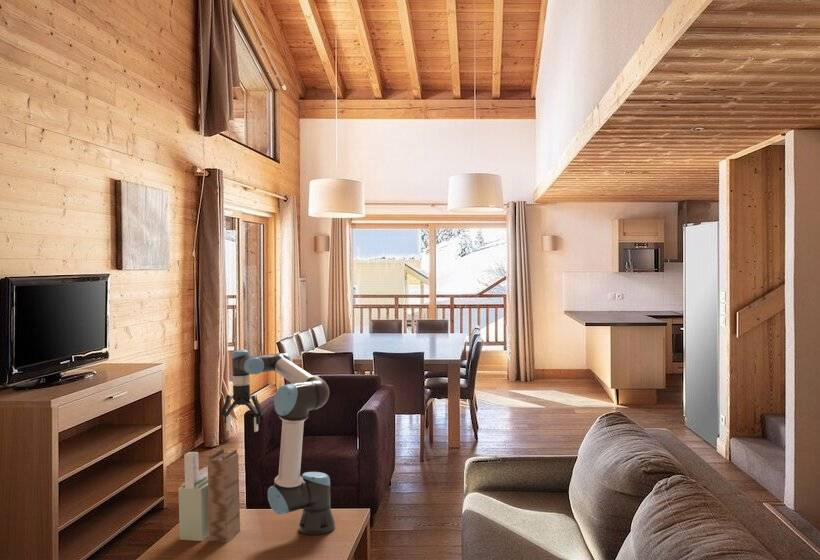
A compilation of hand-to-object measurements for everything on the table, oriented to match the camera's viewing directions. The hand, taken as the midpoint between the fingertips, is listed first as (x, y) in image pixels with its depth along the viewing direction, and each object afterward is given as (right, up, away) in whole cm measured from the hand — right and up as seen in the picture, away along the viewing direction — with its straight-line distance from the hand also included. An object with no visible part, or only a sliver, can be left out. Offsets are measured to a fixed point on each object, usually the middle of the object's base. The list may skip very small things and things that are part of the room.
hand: (242, 430), depth 296 cm
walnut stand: (0, -37, -28) cm, 46 cm away
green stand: (-12, -37, -26) cm, 47 cm away
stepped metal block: (-11, -16, -22) cm, 29 cm away
